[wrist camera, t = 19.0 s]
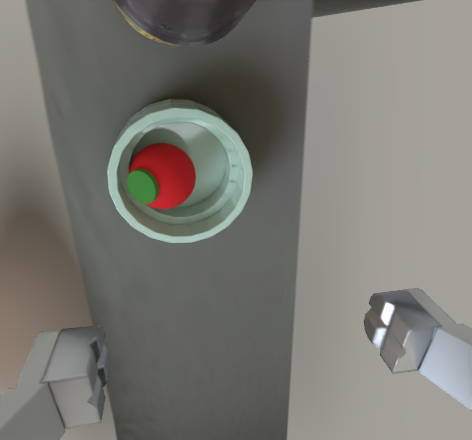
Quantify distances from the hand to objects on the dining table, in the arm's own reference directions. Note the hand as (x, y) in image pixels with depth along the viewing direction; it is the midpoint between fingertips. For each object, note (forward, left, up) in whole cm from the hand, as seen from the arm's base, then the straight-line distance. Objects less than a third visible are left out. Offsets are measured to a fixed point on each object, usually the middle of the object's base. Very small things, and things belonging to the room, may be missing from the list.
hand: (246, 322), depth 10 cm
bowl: (+1, +1, -19) cm, 19 cm away
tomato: (+1, +1, -18) cm, 18 cm away
